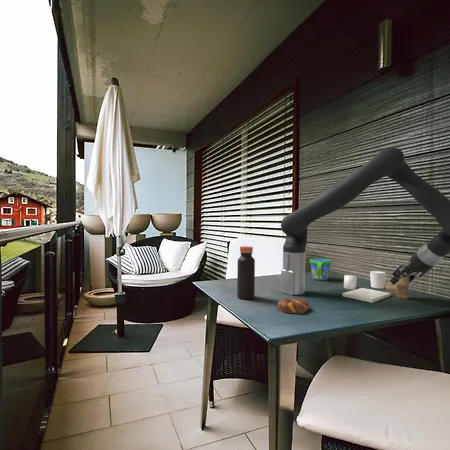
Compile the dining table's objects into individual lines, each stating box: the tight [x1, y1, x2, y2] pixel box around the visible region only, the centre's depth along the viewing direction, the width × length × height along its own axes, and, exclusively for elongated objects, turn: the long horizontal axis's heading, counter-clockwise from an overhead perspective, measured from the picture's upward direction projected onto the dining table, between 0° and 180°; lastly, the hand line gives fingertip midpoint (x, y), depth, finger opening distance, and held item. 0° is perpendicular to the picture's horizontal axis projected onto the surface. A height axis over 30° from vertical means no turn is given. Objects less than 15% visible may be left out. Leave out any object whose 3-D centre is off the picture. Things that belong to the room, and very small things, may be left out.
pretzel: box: [276, 297, 310, 315], centre depth 106 cm, size 12×11×4 cm
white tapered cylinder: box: [369, 270, 387, 289], centre depth 141 cm, size 7×7×7 cm
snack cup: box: [309, 258, 332, 282], centre depth 157 cm, size 16×10×10 cm
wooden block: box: [384, 281, 396, 294], centre depth 132 cm, size 4×4×4 cm
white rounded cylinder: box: [343, 274, 358, 290], centre depth 138 cm, size 5×5×6 cm
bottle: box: [236, 245, 256, 301], centre depth 120 cm, size 7×7×20 cm
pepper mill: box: [395, 264, 410, 300], centre depth 122 cm, size 4×4×13 cm
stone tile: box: [341, 287, 392, 304], centre depth 124 cm, size 16×12×1 cm
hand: (399, 282), depth 123 cm, fingers open, 7 cm apart
